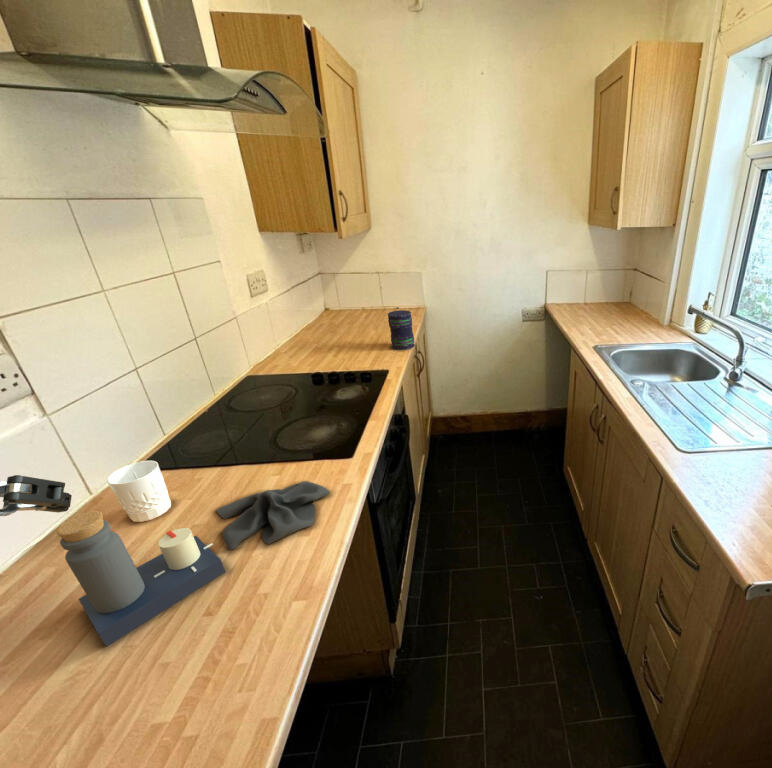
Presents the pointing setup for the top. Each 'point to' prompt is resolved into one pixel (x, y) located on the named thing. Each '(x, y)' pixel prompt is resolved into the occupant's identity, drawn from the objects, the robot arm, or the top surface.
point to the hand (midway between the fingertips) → (22, 510)
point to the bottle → (100, 562)
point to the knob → (179, 548)
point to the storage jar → (401, 329)
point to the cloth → (272, 513)
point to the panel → (155, 593)
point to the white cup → (140, 490)
